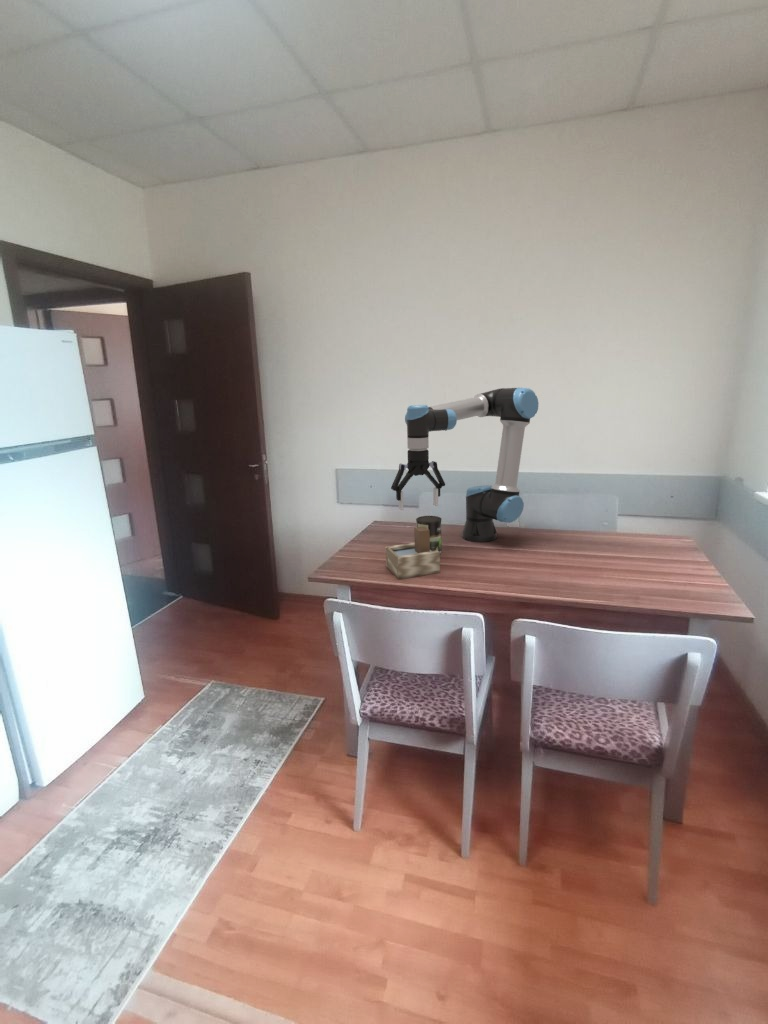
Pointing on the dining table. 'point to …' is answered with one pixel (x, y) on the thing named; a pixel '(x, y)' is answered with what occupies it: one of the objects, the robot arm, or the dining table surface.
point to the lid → (418, 542)
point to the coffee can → (432, 530)
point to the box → (412, 562)
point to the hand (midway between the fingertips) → (418, 507)
